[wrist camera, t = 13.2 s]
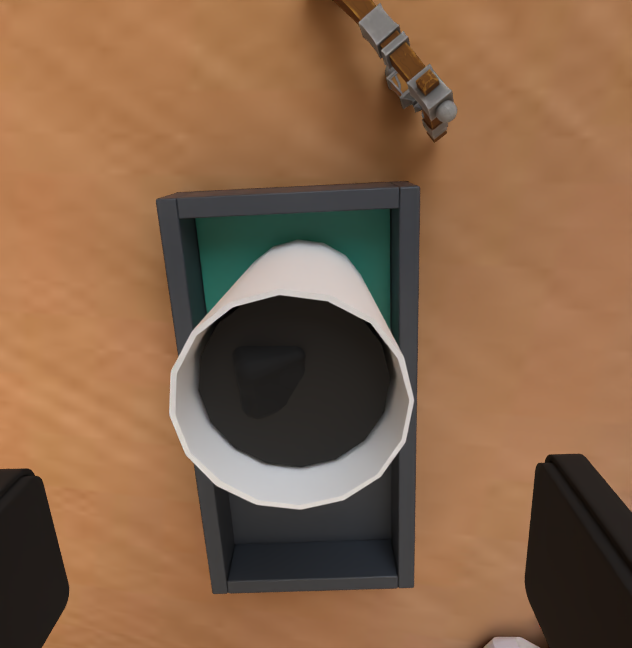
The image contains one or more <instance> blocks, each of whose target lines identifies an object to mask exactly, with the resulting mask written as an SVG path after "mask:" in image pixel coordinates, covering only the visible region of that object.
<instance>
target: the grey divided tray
mask: <svg viewBox="0 0 632 648" xmlns="http://www.w3.org/2000/svg"><path fill="white" fill-rule="evenodd" d="M156 205H157V212H158V219H159V226H160V233H161V240H162V247H163V254H164V261H165V268H166V275H167V281H168V288H169V295H170V302H171V309H172V316H173V323H174V330H175V337H176V344H177V351H178V357H179V355H180V353H181V351H182V349H183V347H184V345H185V344H186V342H187V340H188V338H189V336H190V334H191V332H192V331H193V330H194V328H195V327H196V326H197V325H198V324H199V323H200V322H201V321H202V319H203V318H204V317H205V316H206V315H207V314H208V313H209V312H210V311H211V309H212V308H213V307H214V306H215V305H216V304H217V303H218V302H219V300H220V299H221V298H222V297H223V296H224V295H225V294H226V293H227V291H228V290H229V289H230V288H231V287H232V286H233V285H234V284H235V283H236V281H237V280H238V279H239V278H240V277H241V276H242V275H243V274H244V272H245V271H246V270H247V269H248V268H249V267H250V266H251V265H252V264H253V262H254V261H255V260H257V259H258V258H259V257H261V256H262V255H263V254H264V253H266V252H267V251H268V250H269V249H271V248H272V247H273V246H276V245H280V244H284V243H287V242H291V241H295V240H305V241H313V242H321V243H325V244H327V245H328V246H330V247H332V248H334V249H335V250H337V251H339V252H341V253H342V254H344V255H346V256H347V257H348V259H349V260H350V261H351V263H352V264H353V265H354V267H355V268H356V269H357V271H358V272H359V273H360V274H361V276H362V278H363V280H364V282H365V284H366V286H367V288H368V290H369V292H370V293H371V295H372V297H373V299H374V301H375V303H376V305H377V307H378V309H379V311H380V312H381V314H382V316H383V318H384V320H385V322H386V324H387V326H388V328H389V330H390V331H391V333H392V335H393V337H394V339H395V341H396V343H397V345H398V347H399V349H400V351H401V352H402V354H403V356H404V359H405V364H406V368H407V372H408V376H409V380H410V385H411V389H412V393H413V397H414V404H413V409H412V414H411V418H410V423H409V428H408V433H407V438H406V442H405V444H404V445H403V446H402V448H401V449H400V451H399V452H398V453H397V455H396V456H395V458H394V459H393V460H392V462H391V463H390V465H389V466H388V467H387V469H386V470H385V472H384V473H383V474H382V476H381V477H380V478H378V479H376V480H375V481H373V482H372V483H370V484H369V485H367V486H365V487H364V488H362V489H361V490H359V491H358V492H356V493H354V494H353V495H351V496H350V497H348V498H347V499H345V500H342V501H338V502H333V503H329V504H324V505H320V506H315V507H311V508H306V509H302V510H299V509H290V508H281V507H272V506H263V505H256V504H254V503H252V502H249V501H247V500H245V499H243V498H241V497H239V496H237V495H235V494H233V493H230V492H228V491H226V490H224V489H222V488H220V487H218V486H216V485H215V484H214V483H213V482H212V481H211V480H210V479H209V478H208V477H207V476H206V475H205V474H204V473H203V472H202V471H201V470H200V469H199V468H198V467H197V466H196V465H195V464H194V468H195V475H196V482H197V489H198V496H199V503H200V509H201V516H202V523H203V530H204V537H205V544H206V551H207V558H208V565H209V572H210V579H211V585H212V592H213V594H227V593H228V592H229V593H259V592H293V591H326V590H359V589H392V588H398V587H399V588H413V587H414V554H415V490H416V426H417V362H418V298H419V234H420V186H417V185H414V184H412V183H409V182H408V181H396V182H376V183H356V184H336V185H315V186H295V187H275V188H255V189H235V190H215V191H194V192H177V193H174V194H171V195H168V196H165V197H161V198H158V199H156Z"/></svg>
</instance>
